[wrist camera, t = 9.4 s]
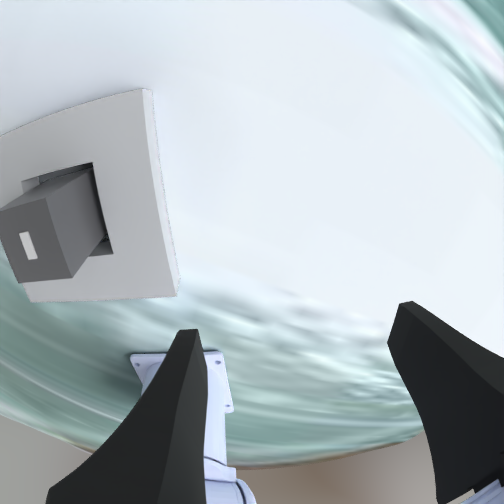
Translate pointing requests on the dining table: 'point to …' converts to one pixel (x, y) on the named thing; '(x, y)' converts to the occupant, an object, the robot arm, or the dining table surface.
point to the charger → (53, 227)
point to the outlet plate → (102, 195)
